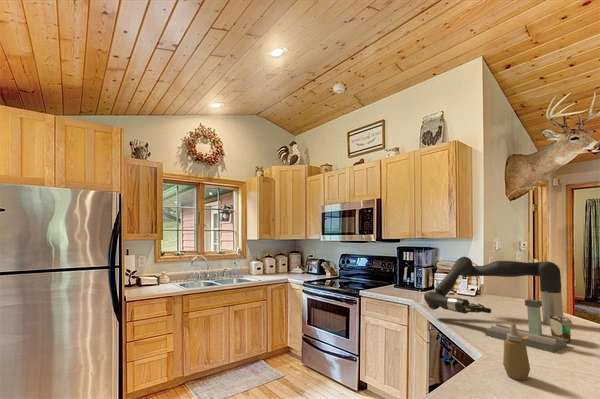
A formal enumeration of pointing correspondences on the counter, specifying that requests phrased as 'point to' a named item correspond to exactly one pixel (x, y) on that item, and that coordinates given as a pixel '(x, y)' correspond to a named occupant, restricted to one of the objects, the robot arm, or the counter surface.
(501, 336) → the slider console
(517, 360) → the squeeze bottle
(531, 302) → the fader tab
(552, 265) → the robot arm
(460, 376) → the counter surface
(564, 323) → the food container
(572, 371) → the counter surface
